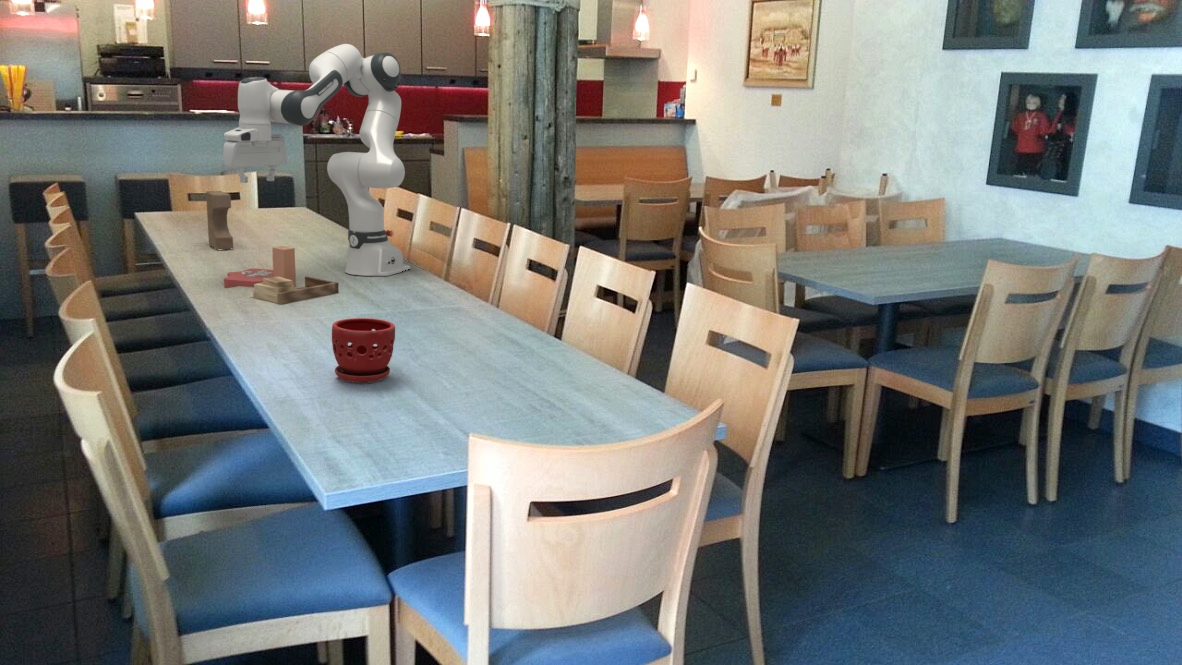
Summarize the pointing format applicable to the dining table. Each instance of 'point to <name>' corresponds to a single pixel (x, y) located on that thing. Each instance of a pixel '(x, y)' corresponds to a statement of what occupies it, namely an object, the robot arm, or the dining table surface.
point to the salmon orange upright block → (284, 263)
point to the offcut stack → (272, 288)
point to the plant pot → (362, 349)
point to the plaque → (246, 277)
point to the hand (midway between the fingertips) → (257, 181)
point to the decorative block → (218, 219)
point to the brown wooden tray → (307, 291)
